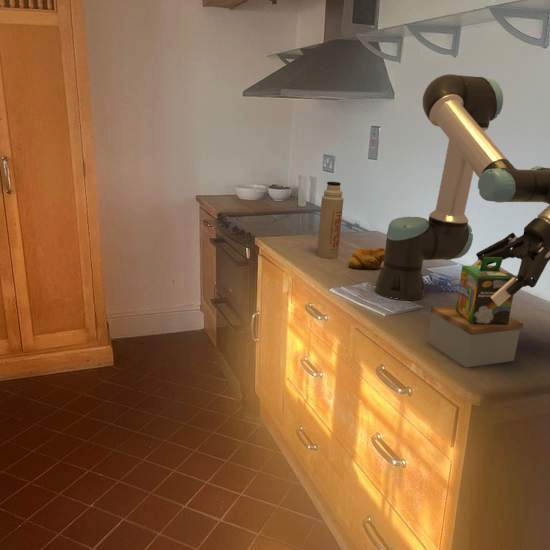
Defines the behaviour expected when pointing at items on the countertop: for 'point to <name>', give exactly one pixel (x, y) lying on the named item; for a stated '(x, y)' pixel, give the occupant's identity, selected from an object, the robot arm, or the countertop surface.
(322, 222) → the thermos bottle
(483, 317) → the chalk box
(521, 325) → the walnut lid
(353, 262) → the bread roll
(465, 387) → the countertop surface
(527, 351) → the countertop surface
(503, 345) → the grey crate
